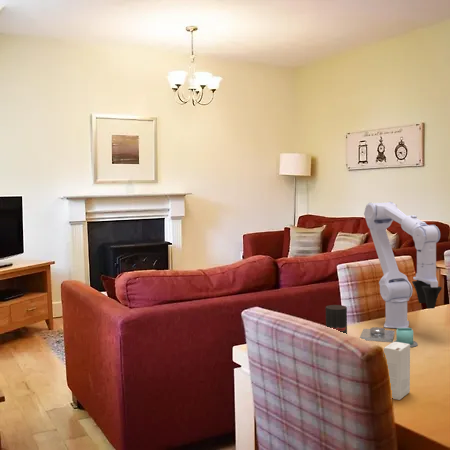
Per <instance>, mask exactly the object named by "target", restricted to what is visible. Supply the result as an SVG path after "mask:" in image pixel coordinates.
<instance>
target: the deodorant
mask: <svg viewBox="0 0 450 450" xmlns="http://www.w3.org/2000/svg"><path fill="white" fill-rule="evenodd" d="M347 307H348V306H346V305H341V304H330V305H326V306H325V327H326V326H327V327H330V328H333V329H336V330H338V331H340V332H343V333H346V334H347V335H348V313H347V312H348V308H347Z"/></svg>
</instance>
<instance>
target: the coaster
mask: <svg viewBox="0 0 450 450" xmlns="http://www.w3.org/2000/svg"><path fill="white" fill-rule="evenodd" d="M393 342H396V340H393ZM418 344H419V343H418V342H417V341H415V340H413V344H412V345H410V348H416V347H418Z"/></svg>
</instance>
